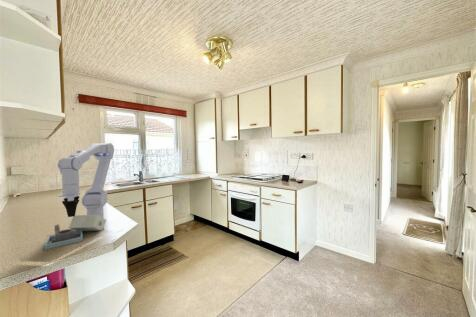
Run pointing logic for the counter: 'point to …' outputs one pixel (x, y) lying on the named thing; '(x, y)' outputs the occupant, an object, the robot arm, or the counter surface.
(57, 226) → the stake board
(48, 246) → the tray
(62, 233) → the dark grey block
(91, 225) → the small box
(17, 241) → the counter surface
